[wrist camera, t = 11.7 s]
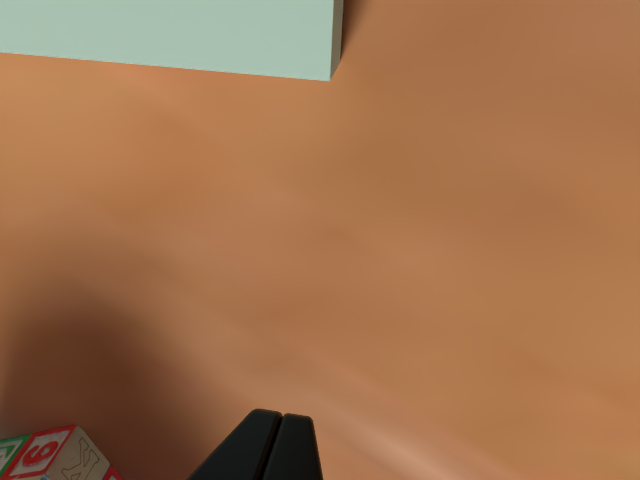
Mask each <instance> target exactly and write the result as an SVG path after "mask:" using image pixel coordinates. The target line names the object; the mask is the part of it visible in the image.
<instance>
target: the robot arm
mask: <svg viewBox="0 0 640 480" xmlns="http://www.w3.org/2000/svg"><path fill="white" fill-rule="evenodd" d="M187 480H323V475H322V469H321V464H320V458H319V452H318V447H317V441H316V435H315V430H314V424H313V420H312V418H310V417H309V416H303V415H297V414H290V413H287V414H285V415H284V416H282V414H281V413H280V412H278V411H271V410H265V409H255V410H253V411H251V412H250V413H249V414H248V415H247V416H246V417H245V418H244V420H243V421H242V422H241V423H240V424H239V425H238V426H237V427H236V428H235V429H234V430H233V431H232V432H231V433H230V434H229V435H228V436H227V437H226V438H225V440H224V441H223V442H222V443H221V444H220V445H219V446H218V447H217V448H216V449H215V450H214V451H213V452H212V453H211V454H210V455H209V456H208V457H207V458H206V460H205V461H204V462H203V463H202V464H201V465H200V466H199V467H198V468H197V469H196V470H195V471H194V472H193V473H192V474H191V475H190V476H189V477H188V478H187Z"/></svg>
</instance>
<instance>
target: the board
mask: <svg viewBox="0 0 640 480" xmlns="http://www.w3.org/2000/svg"><path fill="white" fill-rule="evenodd" d="M343 1H344V0H0V52H4V53H16V54H27V55H38V56H50V57H61V58H72V59H84V60H95V61H106V62H118V63H129V64H141V65H152V66H163V67H175V68H186V69H197V70H209V71H220V72H231V73H243V74H254V75H266V76H277V77H288V78H300V79H311V80H322V81H330V80H331V78H332V76H333V74H334V72H335V70H336V68H337V67H338V65H339V63H340V55H341V37H342V19H343Z"/></svg>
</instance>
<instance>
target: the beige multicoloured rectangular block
mask: <svg viewBox="0 0 640 480" xmlns="http://www.w3.org/2000/svg"><path fill="white" fill-rule="evenodd" d="M0 480H123V479H122V478H121V477H120V476H119V474H118V473H117V472H116V471H115V470H114V468H113V467H112V466H111V465H110V464H109V462H108V460H107V459H106V458H105V457H104V455H103V454H102V453H101V452H100V450H99V449H98V448H97V447H96V446H95V444H94V443H93V442H92V441H91V439H90V438H89V437H88V436H87V435H86V433H85V432H84V431H83V430H82V428H81V427H80V426H79V425H72V426H67V427H62V428H57V429H52V430H47V431H42V432H37V433H33V434H31V435H26V436H21V437H15V438H10V439H5V440H0Z"/></svg>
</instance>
